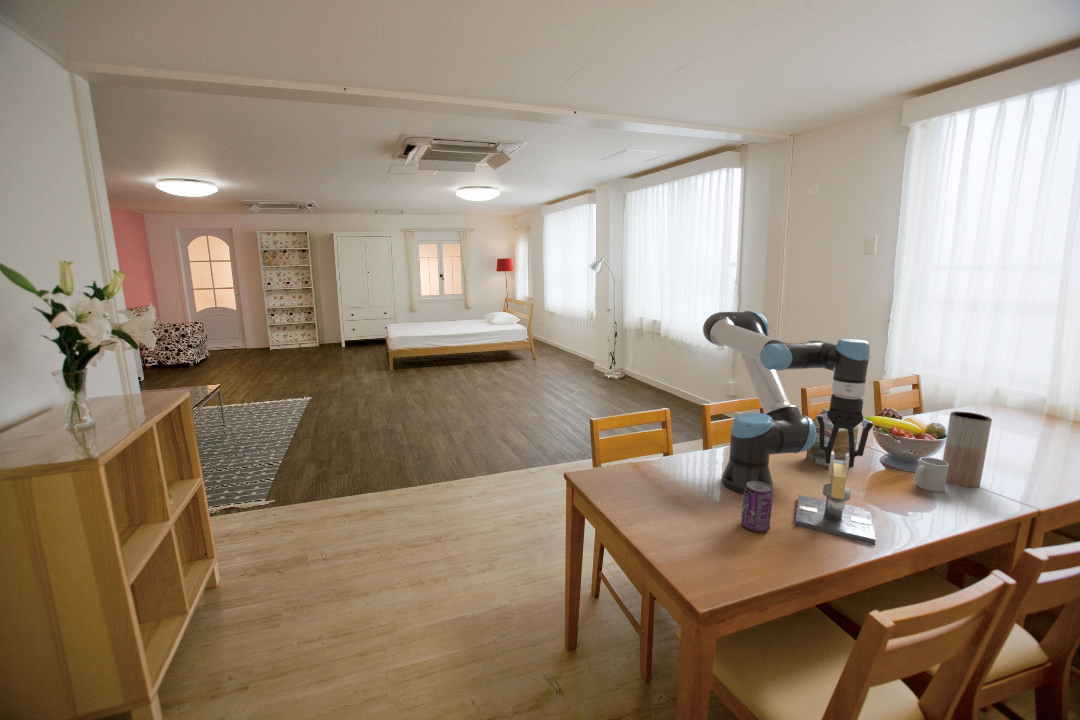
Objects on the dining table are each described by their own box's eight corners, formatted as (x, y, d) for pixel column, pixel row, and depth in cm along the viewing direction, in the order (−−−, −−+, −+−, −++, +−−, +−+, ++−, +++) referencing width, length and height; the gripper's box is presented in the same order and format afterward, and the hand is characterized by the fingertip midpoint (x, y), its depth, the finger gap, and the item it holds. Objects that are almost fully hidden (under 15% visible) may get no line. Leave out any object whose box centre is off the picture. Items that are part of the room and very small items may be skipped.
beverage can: (745, 517, 133) (748, 478, 131) (772, 526, 129) (776, 485, 127) (737, 528, 128) (740, 486, 126) (765, 537, 123) (769, 494, 121)
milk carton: (806, 458, 176) (811, 409, 172) (827, 455, 179) (833, 407, 175) (830, 469, 166) (837, 417, 162) (853, 466, 169) (860, 415, 165)
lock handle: (822, 502, 127) (825, 474, 125) (822, 483, 138) (826, 457, 136) (850, 508, 123) (854, 479, 122) (848, 489, 134) (852, 462, 133)
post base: (795, 525, 129) (797, 501, 128) (798, 499, 144) (800, 477, 143) (874, 544, 120) (878, 519, 118) (869, 514, 135) (872, 491, 134)
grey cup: (950, 491, 149) (955, 464, 148) (925, 494, 147) (929, 467, 145) (927, 481, 156) (931, 456, 154) (903, 484, 154) (906, 458, 152)
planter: (950, 486, 153) (962, 419, 149) (933, 473, 162) (943, 410, 158) (987, 489, 150) (1000, 421, 146) (967, 476, 160) (979, 412, 156)
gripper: (813, 394, 130) (804, 474, 135) (884, 402, 122) (872, 487, 126) (814, 389, 137) (805, 465, 141) (881, 396, 128) (870, 477, 133)
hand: (837, 475), depth 134 cm, fingers closed on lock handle, 3 cm apart
